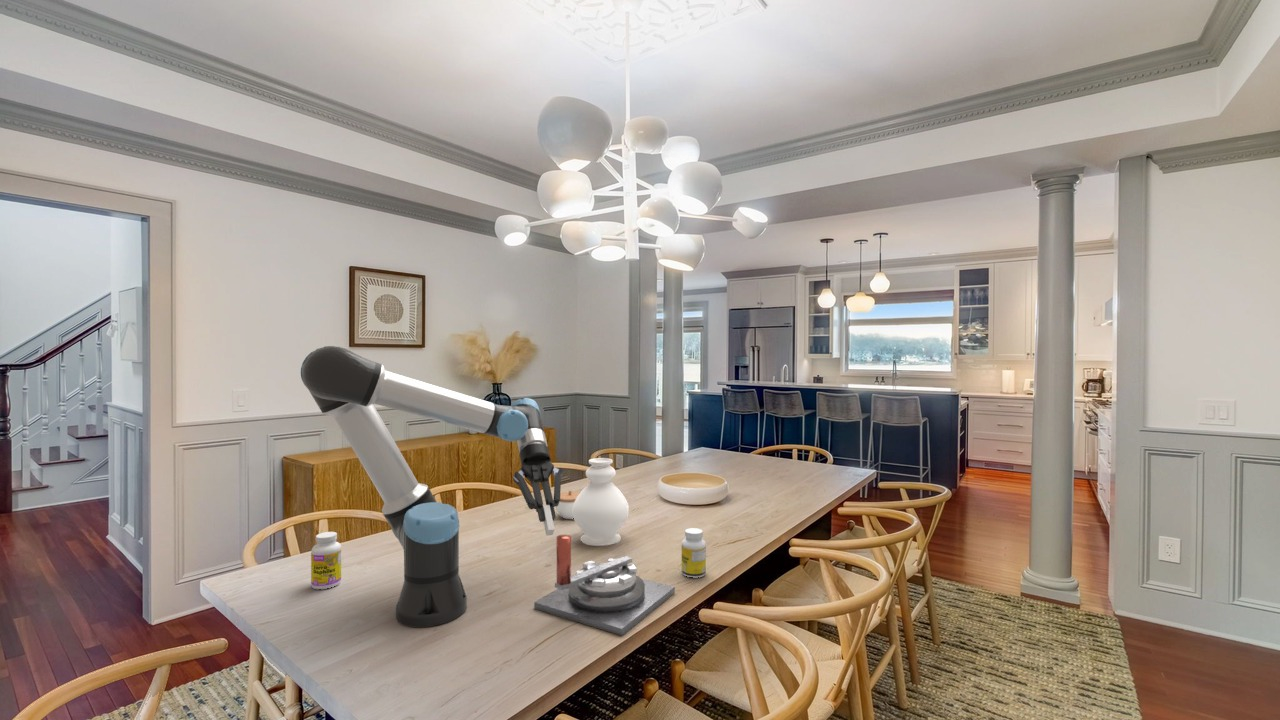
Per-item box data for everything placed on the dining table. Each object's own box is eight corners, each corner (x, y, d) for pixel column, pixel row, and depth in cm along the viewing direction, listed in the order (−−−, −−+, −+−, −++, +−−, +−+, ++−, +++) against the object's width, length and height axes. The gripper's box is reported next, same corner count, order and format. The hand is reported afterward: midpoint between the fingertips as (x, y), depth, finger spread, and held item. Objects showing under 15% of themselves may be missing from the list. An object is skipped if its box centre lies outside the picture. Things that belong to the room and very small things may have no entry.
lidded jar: (549, 519, 197) (549, 492, 197) (564, 511, 207) (564, 485, 206) (575, 522, 193) (575, 495, 192) (590, 514, 202) (590, 488, 202)
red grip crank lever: (608, 567, 143) (608, 511, 143) (650, 582, 133) (650, 522, 133) (538, 594, 127) (538, 531, 126) (579, 614, 117) (579, 546, 117)
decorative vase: (635, 532, 182) (635, 456, 182) (618, 551, 165) (618, 467, 164) (584, 528, 187) (584, 453, 186) (563, 546, 170) (563, 464, 169)
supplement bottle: (307, 591, 137) (307, 540, 137) (315, 581, 144) (315, 531, 143) (337, 588, 139) (337, 537, 139) (344, 578, 145) (343, 529, 145)
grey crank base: (622, 635, 116) (622, 618, 116) (534, 608, 128) (534, 592, 128) (674, 593, 137) (674, 578, 137) (594, 573, 149) (594, 559, 149)
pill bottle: (682, 568, 152) (682, 526, 152) (706, 570, 151) (706, 527, 151) (680, 578, 146) (680, 533, 145) (705, 579, 145) (705, 535, 144)
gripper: (554, 456, 151) (573, 536, 137) (506, 460, 146) (520, 544, 131) (560, 440, 146) (580, 521, 132) (510, 443, 141) (525, 528, 126)
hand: (550, 532), depth 131 cm, fingers closed
